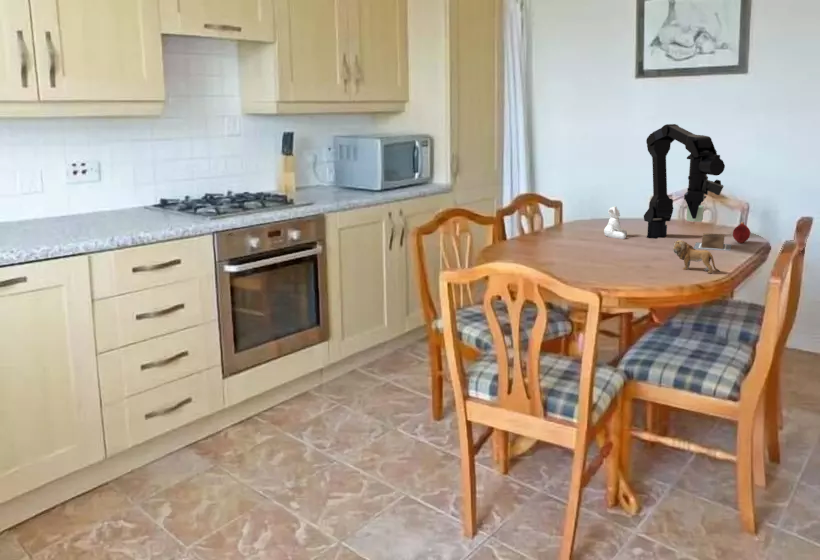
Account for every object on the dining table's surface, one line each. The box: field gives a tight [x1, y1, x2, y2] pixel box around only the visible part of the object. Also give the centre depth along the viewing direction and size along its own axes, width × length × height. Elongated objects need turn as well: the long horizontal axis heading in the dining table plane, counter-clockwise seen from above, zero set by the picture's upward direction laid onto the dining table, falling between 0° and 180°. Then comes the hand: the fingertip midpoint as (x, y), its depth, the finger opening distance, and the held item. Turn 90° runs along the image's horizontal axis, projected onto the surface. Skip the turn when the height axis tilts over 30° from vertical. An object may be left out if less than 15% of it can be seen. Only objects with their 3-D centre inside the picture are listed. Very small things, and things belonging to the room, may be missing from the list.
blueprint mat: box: [693, 242, 732, 252], centre depth 258 cm, size 12×12×1 cm
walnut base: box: [701, 232, 725, 249], centre depth 257 cm, size 7×7×4 cm
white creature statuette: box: [603, 205, 628, 240], centre depth 281 cm, size 10×9×12 cm
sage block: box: [685, 204, 705, 223], centre depth 255 cm, size 5×5×5 cm
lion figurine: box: [672, 240, 721, 274], centre depth 224 cm, size 15×5×9 cm, turn 51°
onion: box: [732, 221, 751, 244], centre depth 262 cm, size 6×6×8 cm
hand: (694, 217), depth 255 cm, fingers closed on sage block, 5 cm apart
